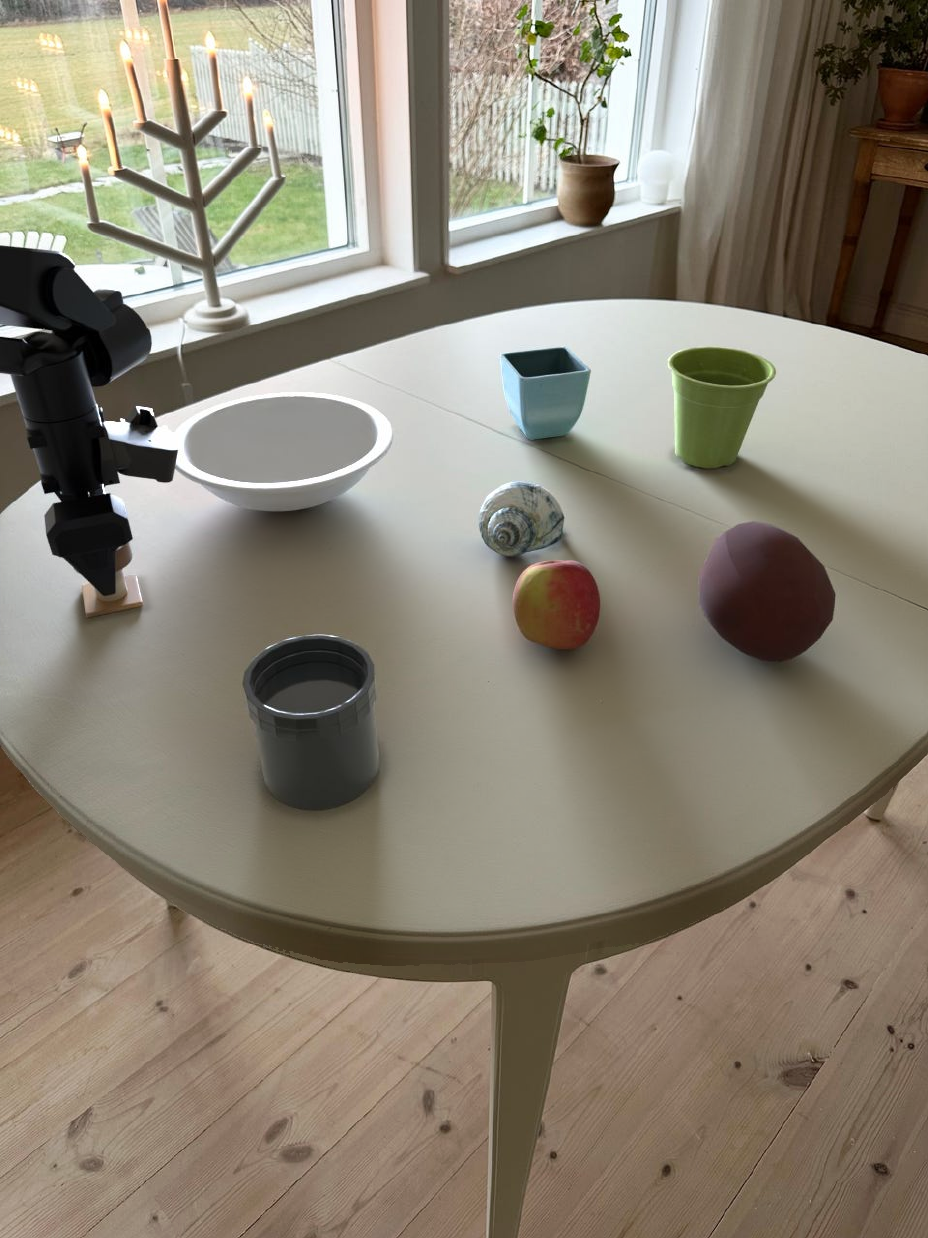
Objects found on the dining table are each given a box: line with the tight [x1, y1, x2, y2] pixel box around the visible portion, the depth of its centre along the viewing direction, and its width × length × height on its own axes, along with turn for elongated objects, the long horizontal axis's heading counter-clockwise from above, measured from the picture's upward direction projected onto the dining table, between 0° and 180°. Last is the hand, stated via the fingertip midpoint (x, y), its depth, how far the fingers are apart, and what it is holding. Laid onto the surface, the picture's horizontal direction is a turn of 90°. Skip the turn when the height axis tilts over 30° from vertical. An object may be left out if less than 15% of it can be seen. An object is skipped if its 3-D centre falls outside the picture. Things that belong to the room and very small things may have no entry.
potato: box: [698, 520, 837, 663], centre depth 78 cm, size 11×13×10 cm
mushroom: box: [72, 542, 133, 602], centre depth 85 cm, size 5×5×6 cm
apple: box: [512, 559, 601, 650], centre depth 79 cm, size 8×8×8 cm
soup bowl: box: [172, 392, 394, 512], centre depth 101 cm, size 24×24×7 cm
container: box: [242, 634, 380, 811], centre depth 66 cm, size 9×9×9 cm
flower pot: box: [499, 346, 592, 440], centre depth 113 cm, size 9×9×9 cm
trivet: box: [81, 573, 144, 619], centre depth 87 cm, size 5×5×1 cm
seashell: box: [478, 480, 565, 557], centre depth 92 cm, size 6×8×12 cm
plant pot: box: [667, 346, 777, 469], centre depth 106 cm, size 12×12×11 cm
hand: (104, 567), depth 85 cm, fingers open, 9 cm apart
